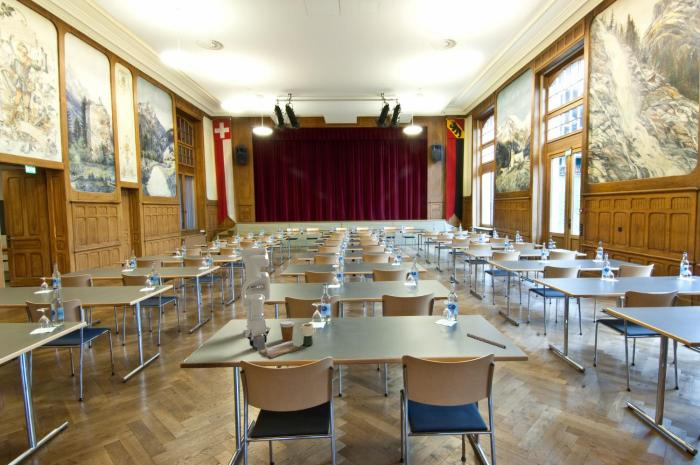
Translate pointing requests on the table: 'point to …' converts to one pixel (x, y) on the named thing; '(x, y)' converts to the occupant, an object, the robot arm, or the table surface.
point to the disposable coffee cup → (287, 329)
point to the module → (259, 342)
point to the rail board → (281, 352)
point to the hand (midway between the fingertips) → (258, 344)
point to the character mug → (307, 333)
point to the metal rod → (486, 340)
